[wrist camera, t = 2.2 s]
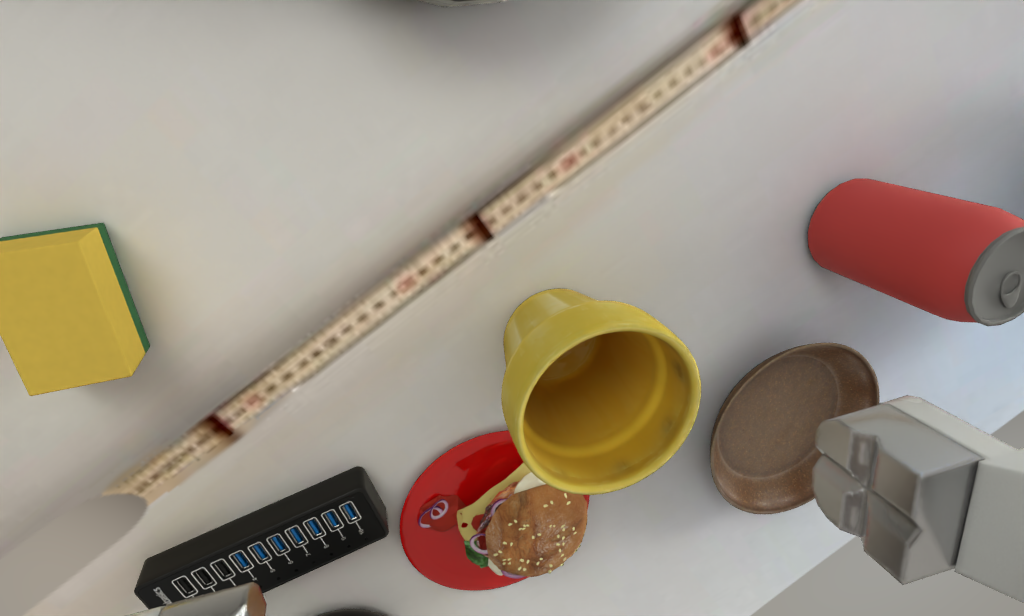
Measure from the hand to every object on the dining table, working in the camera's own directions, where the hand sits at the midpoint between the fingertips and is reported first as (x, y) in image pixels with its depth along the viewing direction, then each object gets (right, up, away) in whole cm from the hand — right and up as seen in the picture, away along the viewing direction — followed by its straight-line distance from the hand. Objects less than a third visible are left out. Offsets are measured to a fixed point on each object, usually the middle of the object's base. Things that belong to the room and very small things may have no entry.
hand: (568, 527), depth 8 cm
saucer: (+20, -5, +40) cm, 45 cm away
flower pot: (+2, +1, +31) cm, 32 cm away
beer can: (+22, +9, +34) cm, 42 cm away
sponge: (-23, +4, +23) cm, 32 cm away
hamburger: (-2, -12, +36) cm, 37 cm away
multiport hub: (-17, -12, +31) cm, 37 cm away
